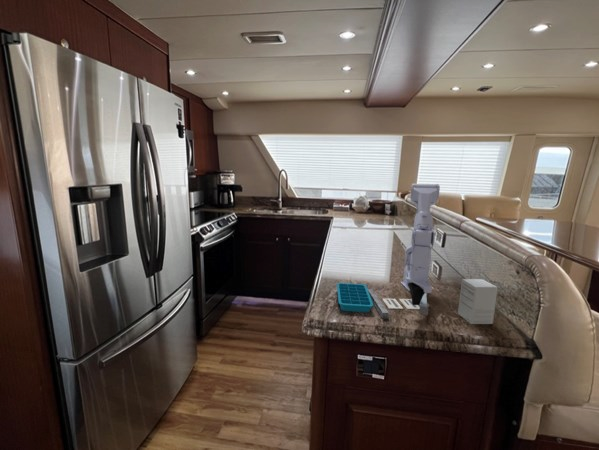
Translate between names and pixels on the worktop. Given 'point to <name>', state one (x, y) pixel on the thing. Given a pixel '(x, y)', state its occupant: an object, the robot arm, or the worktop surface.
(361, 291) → the ice cube tray
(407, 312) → the worktop surface
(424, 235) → the robot arm
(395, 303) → the psu label
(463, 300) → the supplement box
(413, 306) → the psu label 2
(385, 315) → the rail
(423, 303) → the bar
